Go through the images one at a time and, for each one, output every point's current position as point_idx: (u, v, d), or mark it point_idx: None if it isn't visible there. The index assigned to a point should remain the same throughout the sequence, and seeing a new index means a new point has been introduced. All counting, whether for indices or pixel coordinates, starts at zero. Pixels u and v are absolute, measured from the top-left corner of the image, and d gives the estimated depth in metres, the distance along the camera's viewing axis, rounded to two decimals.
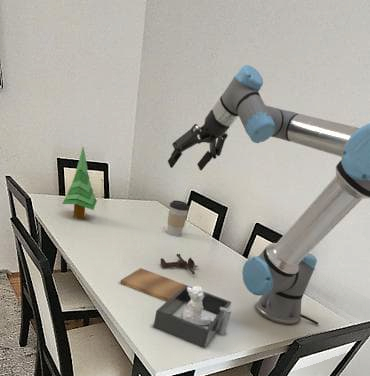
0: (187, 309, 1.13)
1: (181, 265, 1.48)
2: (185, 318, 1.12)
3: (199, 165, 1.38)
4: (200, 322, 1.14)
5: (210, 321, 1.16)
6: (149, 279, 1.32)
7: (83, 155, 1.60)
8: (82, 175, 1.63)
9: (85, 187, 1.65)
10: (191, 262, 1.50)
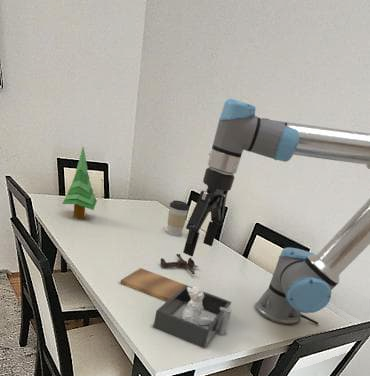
0: (187, 309, 1.13)
1: (181, 265, 1.48)
2: (185, 318, 1.12)
3: (207, 242, 1.12)
4: (200, 322, 1.14)
5: (210, 321, 1.16)
6: (149, 279, 1.32)
7: (83, 155, 1.60)
8: (82, 175, 1.63)
9: (85, 187, 1.65)
10: (191, 262, 1.50)
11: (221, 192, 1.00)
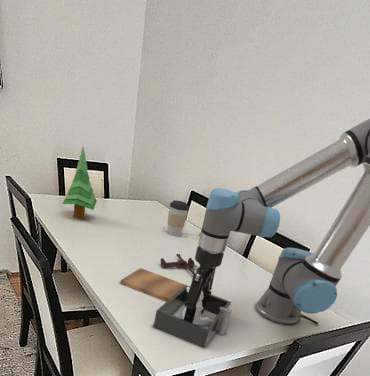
0: None
1: (181, 265, 1.48)
2: None
3: None
4: (200, 322, 1.14)
5: (210, 321, 1.16)
6: (149, 279, 1.32)
7: (83, 155, 1.60)
8: (82, 175, 1.63)
9: (85, 187, 1.65)
10: (191, 262, 1.50)
11: None
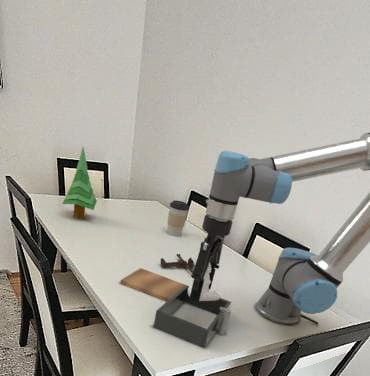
0: None
1: (181, 265, 1.48)
2: None
3: None
4: (207, 297, 1.09)
5: (218, 296, 1.11)
6: (149, 279, 1.32)
7: (83, 155, 1.60)
8: (82, 175, 1.63)
9: (85, 187, 1.65)
10: (191, 262, 1.50)
11: None
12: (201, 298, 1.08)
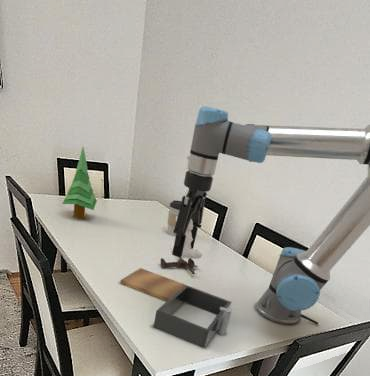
0: None
1: (181, 265, 1.48)
2: None
3: None
4: (189, 254, 1.13)
5: (199, 254, 1.14)
6: (149, 279, 1.32)
7: (83, 155, 1.60)
8: (82, 175, 1.63)
9: (85, 187, 1.65)
10: (191, 262, 1.50)
11: (202, 192, 1.07)
12: (183, 255, 1.12)
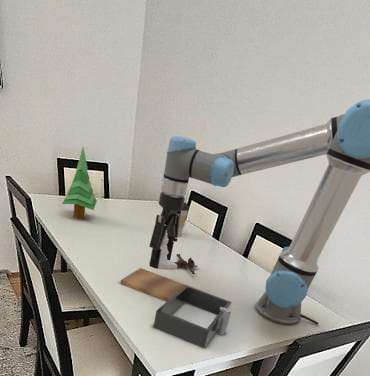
0: None
1: (181, 265, 1.48)
2: None
3: None
4: (165, 265, 1.24)
5: (175, 265, 1.26)
6: (149, 279, 1.32)
7: (83, 155, 1.60)
8: (82, 175, 1.63)
9: (85, 187, 1.65)
10: (191, 262, 1.50)
11: (175, 210, 1.19)
12: (160, 266, 1.24)
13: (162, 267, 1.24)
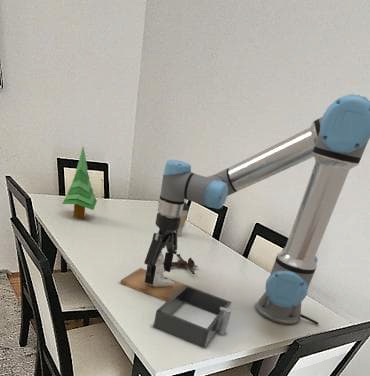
0: None
1: (181, 265, 1.48)
2: None
3: (165, 269, 1.34)
4: (162, 283, 1.28)
5: (171, 283, 1.30)
6: None
7: (83, 155, 1.60)
8: (82, 175, 1.63)
9: (85, 187, 1.65)
10: (191, 262, 1.50)
11: (171, 230, 1.22)
12: (156, 284, 1.27)
13: (159, 285, 1.28)
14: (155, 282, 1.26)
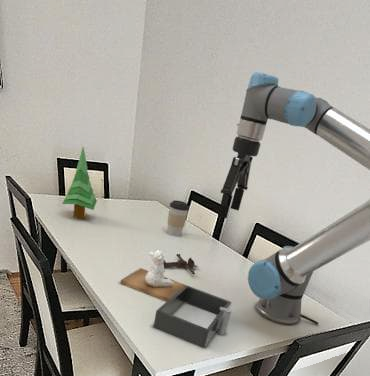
0: (150, 271, 1.26)
1: (181, 265, 1.48)
2: (148, 279, 1.26)
3: (234, 207, 1.25)
4: (162, 283, 1.28)
5: (171, 283, 1.30)
6: None
7: (83, 155, 1.60)
8: (82, 175, 1.63)
9: (85, 187, 1.65)
10: (191, 262, 1.50)
11: (248, 158, 1.13)
12: (156, 284, 1.27)
13: (159, 285, 1.28)
14: (155, 282, 1.26)
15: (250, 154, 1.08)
